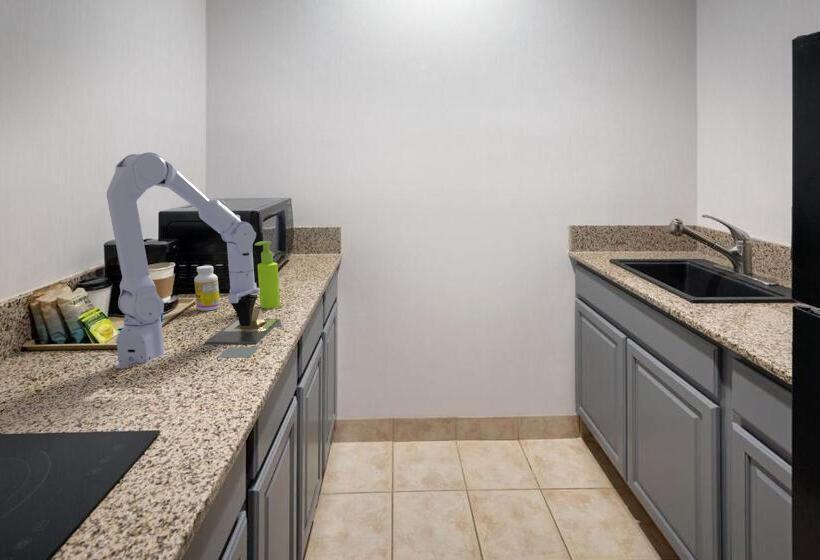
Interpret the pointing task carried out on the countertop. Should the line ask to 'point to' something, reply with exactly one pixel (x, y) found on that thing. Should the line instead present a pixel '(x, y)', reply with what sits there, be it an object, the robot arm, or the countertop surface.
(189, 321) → the countertop surface
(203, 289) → the supplement bottle
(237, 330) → the plate
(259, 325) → the block
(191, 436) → the countertop surface
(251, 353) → the grey square pad
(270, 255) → the soap dispenser
